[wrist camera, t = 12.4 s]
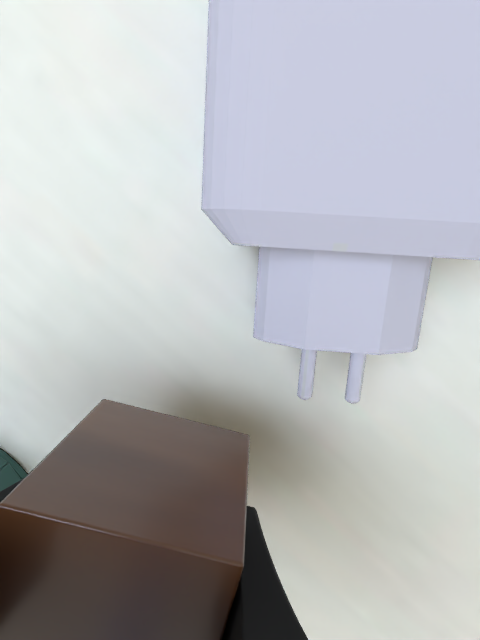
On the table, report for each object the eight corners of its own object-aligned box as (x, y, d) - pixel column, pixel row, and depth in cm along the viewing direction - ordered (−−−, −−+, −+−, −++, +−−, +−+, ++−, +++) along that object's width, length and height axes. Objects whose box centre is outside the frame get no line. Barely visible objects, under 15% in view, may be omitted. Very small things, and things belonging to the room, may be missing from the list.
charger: (210, 367, 16) (228, -47, 12) (427, 383, 15) (503, -38, 12) (189, 420, 11) (210, -216, 8) (499, 445, 11) (655, -211, 7)
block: (216, 557, 13) (191, 744, 8) (81, 523, 13) (-25, 691, 8) (250, 434, 12) (244, 565, 7) (103, 397, 12) (-4, 504, 7)
